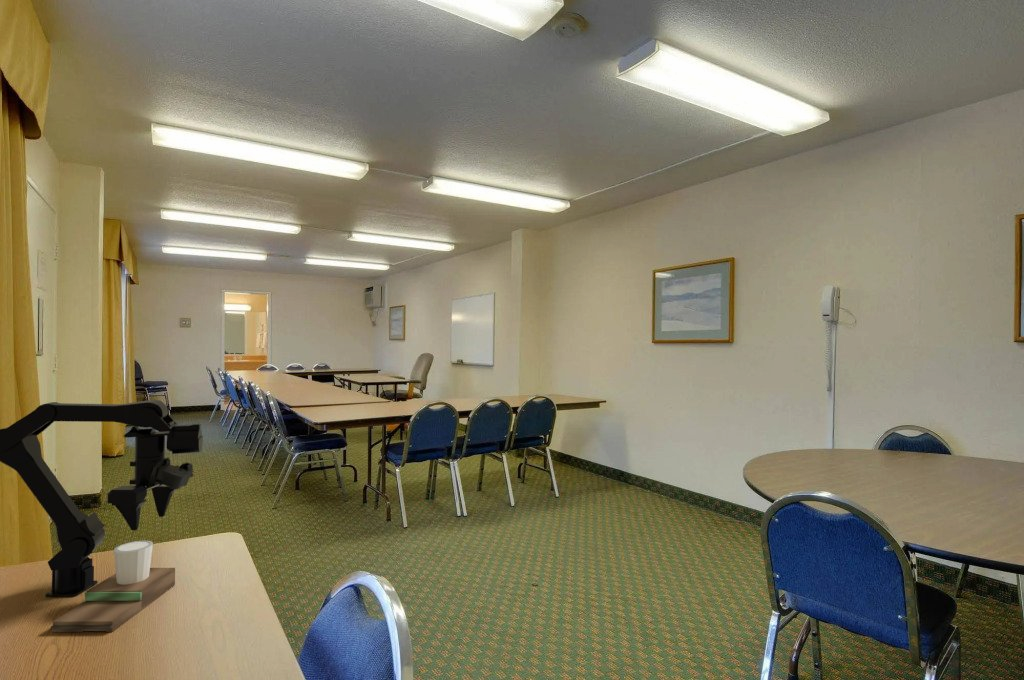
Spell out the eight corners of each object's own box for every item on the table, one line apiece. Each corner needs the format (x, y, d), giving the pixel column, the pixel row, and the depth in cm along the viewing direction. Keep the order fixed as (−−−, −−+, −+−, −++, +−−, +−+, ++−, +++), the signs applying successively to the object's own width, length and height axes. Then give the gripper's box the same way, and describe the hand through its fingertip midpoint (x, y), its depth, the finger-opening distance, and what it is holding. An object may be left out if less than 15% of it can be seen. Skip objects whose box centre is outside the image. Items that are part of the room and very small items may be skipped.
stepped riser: (50, 633, 97) (51, 611, 97) (124, 585, 116) (125, 567, 116) (110, 633, 97) (111, 611, 97) (174, 585, 117) (175, 567, 117)
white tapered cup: (160, 574, 113) (160, 542, 113) (128, 588, 107) (128, 554, 107) (137, 569, 116) (138, 538, 116) (104, 582, 109) (105, 549, 109)
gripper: (159, 464, 111) (157, 538, 110) (208, 447, 129) (206, 510, 129) (105, 464, 110) (104, 538, 110) (162, 447, 129) (161, 510, 129)
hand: (148, 523), depth 120 cm, fingers open, 9 cm apart
